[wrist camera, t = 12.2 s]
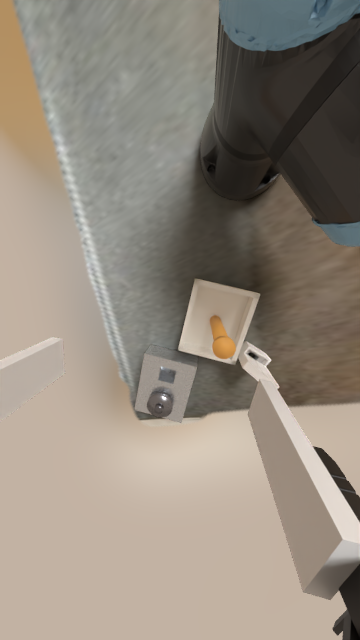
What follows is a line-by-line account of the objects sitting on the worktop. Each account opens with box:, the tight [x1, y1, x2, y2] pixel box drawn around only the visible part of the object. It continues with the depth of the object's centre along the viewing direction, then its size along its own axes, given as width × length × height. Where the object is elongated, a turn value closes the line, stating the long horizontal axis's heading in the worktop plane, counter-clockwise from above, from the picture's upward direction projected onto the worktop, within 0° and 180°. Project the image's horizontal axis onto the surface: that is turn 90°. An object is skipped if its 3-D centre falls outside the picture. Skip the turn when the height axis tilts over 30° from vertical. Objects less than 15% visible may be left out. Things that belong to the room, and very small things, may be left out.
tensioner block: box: [135, 344, 198, 423], centre depth 41 cm, size 16×12×8 cm
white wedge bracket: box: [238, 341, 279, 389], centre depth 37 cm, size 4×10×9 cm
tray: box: [178, 278, 260, 365], centre depth 37 cm, size 16×13×4 cm
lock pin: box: [210, 315, 236, 359], centre depth 31 cm, size 3×3×15 cm
